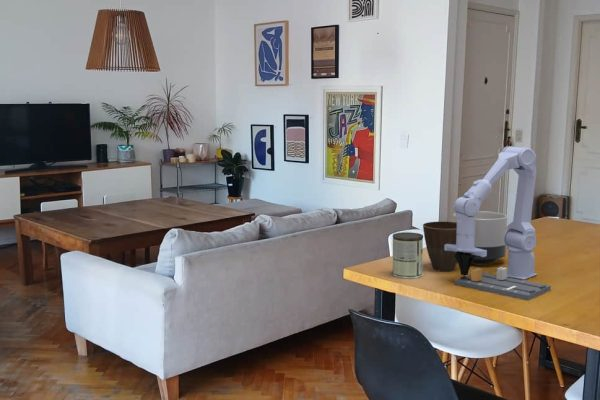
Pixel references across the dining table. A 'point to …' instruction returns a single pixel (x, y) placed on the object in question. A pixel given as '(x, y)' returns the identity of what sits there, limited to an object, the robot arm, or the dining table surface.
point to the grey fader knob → (501, 273)
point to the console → (505, 286)
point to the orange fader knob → (476, 274)
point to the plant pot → (440, 244)
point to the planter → (489, 235)
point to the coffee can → (407, 255)
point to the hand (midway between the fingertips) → (464, 274)
